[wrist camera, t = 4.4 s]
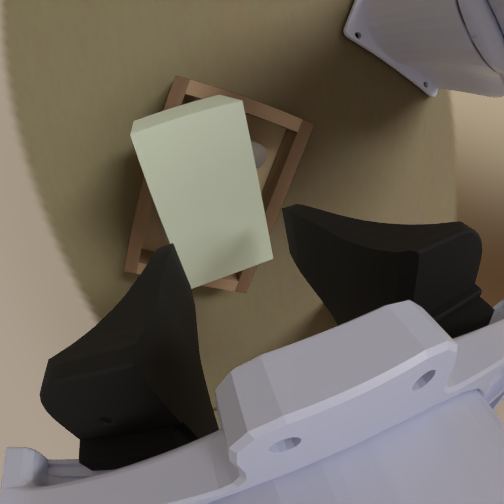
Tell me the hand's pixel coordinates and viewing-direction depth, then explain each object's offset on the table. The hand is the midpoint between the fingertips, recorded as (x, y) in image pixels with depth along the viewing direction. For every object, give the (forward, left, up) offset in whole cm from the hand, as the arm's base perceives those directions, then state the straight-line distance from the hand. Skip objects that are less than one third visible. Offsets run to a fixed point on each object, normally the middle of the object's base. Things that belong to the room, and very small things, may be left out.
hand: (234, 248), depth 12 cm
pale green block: (+1, -1, -6) cm, 6 cm away
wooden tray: (0, 0, -8) cm, 8 cm away
